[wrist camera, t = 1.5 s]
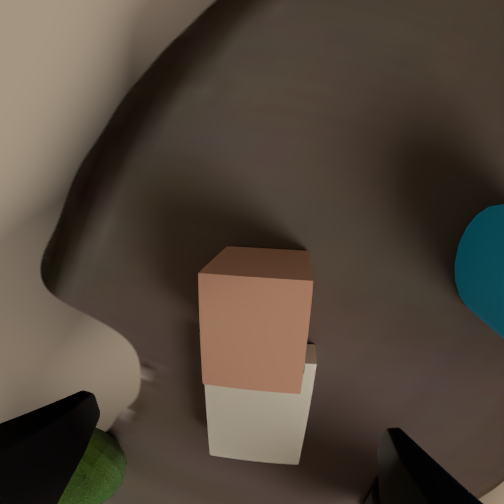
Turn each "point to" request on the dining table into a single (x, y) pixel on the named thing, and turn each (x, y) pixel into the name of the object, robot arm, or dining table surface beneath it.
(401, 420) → the dining table surface
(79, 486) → the avocado
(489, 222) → the mug
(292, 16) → the dining table surface
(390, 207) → the dining table surface
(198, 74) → the dining table surface
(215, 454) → the slab
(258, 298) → the tan cube
